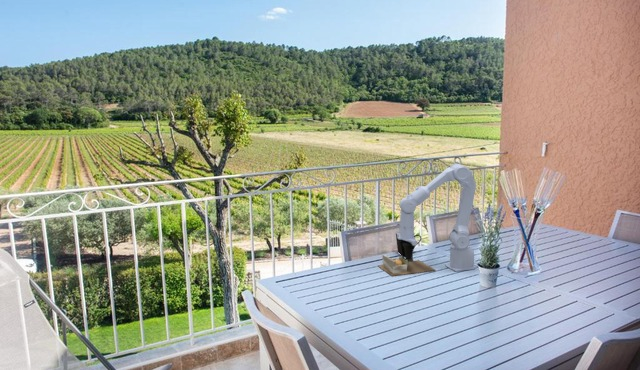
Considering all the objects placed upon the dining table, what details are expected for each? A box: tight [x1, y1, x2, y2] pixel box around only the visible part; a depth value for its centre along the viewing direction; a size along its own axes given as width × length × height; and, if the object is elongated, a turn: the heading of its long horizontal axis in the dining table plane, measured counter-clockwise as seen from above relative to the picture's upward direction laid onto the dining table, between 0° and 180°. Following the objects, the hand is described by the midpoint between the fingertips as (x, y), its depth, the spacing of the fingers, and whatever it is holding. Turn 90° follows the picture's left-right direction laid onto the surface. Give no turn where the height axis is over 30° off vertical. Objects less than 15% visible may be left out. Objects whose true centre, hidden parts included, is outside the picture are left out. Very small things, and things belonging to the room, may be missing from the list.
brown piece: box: [377, 254, 437, 277], centre depth 203 cm, size 20×14×6 cm
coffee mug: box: [395, 230, 422, 256], centre depth 224 cm, size 12×9×10 cm
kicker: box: [398, 252, 414, 267], centre depth 203 cm, size 5×6×8 cm
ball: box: [394, 258, 403, 266], centre depth 202 cm, size 4×4×4 cm
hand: (406, 257), depth 203 cm, fingers closed on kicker, 2 cm apart
